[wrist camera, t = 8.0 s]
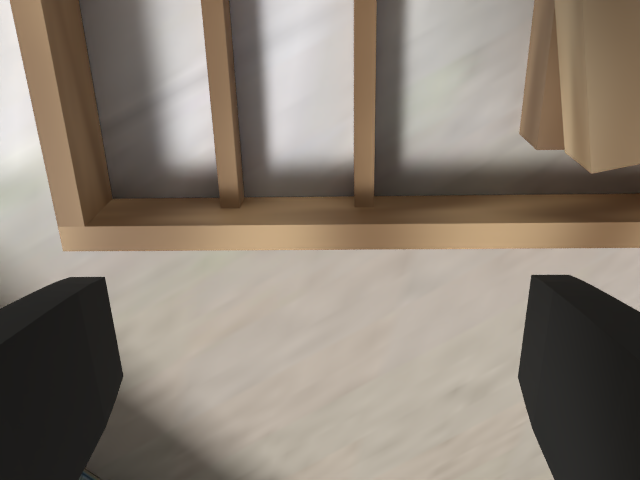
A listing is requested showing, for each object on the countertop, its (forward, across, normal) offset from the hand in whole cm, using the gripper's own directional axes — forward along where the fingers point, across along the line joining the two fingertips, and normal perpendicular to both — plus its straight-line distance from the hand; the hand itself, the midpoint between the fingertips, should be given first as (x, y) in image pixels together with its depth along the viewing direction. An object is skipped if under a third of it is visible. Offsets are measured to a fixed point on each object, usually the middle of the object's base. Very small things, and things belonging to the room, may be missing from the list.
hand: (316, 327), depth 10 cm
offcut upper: (+8, -8, -3) cm, 12 cm away
